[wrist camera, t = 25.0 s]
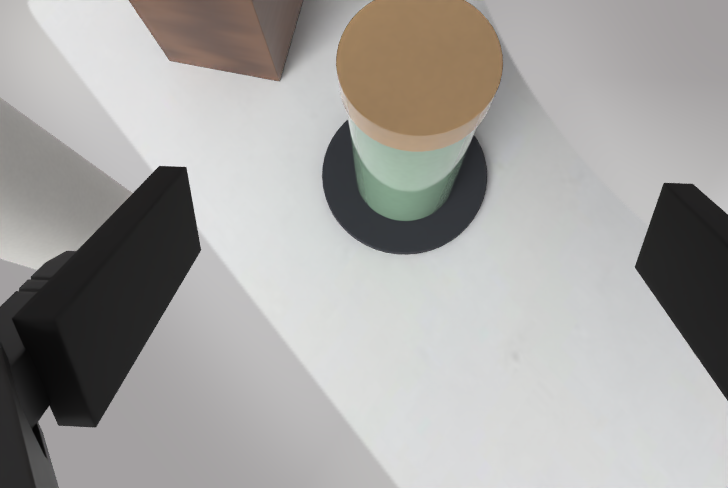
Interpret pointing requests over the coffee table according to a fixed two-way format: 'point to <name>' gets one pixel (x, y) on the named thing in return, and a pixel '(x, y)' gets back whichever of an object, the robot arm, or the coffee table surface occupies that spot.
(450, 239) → the coaster
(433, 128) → the ceramic jar
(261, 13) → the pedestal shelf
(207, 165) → the coffee table surface
